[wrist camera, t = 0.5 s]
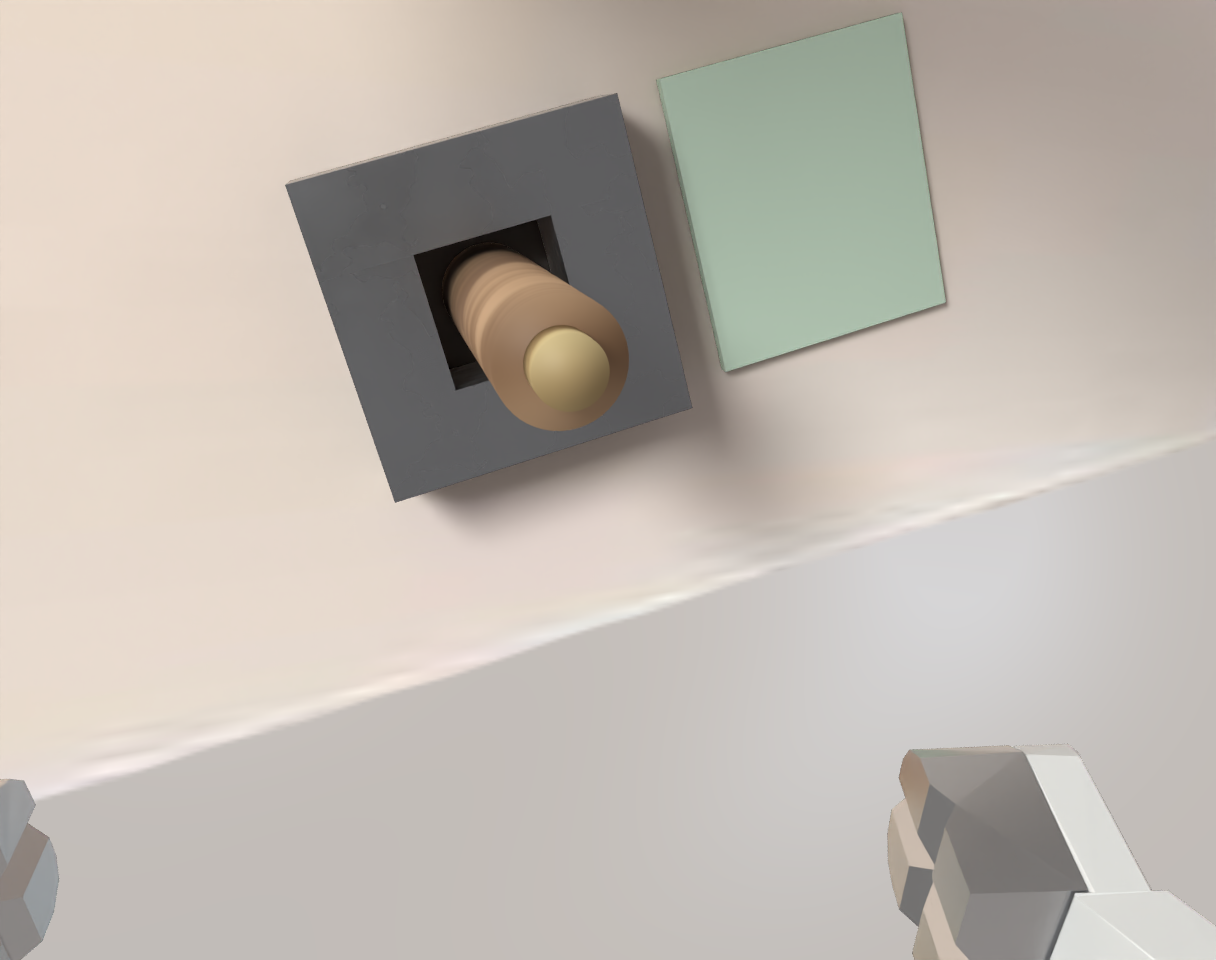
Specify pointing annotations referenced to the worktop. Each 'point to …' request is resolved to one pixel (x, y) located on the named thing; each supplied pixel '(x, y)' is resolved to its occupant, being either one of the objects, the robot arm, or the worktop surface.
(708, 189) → the mat
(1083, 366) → the worktop surface
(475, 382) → the housing
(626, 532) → the worktop surface
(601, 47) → the worktop surface
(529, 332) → the bottle
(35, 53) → the worktop surface
